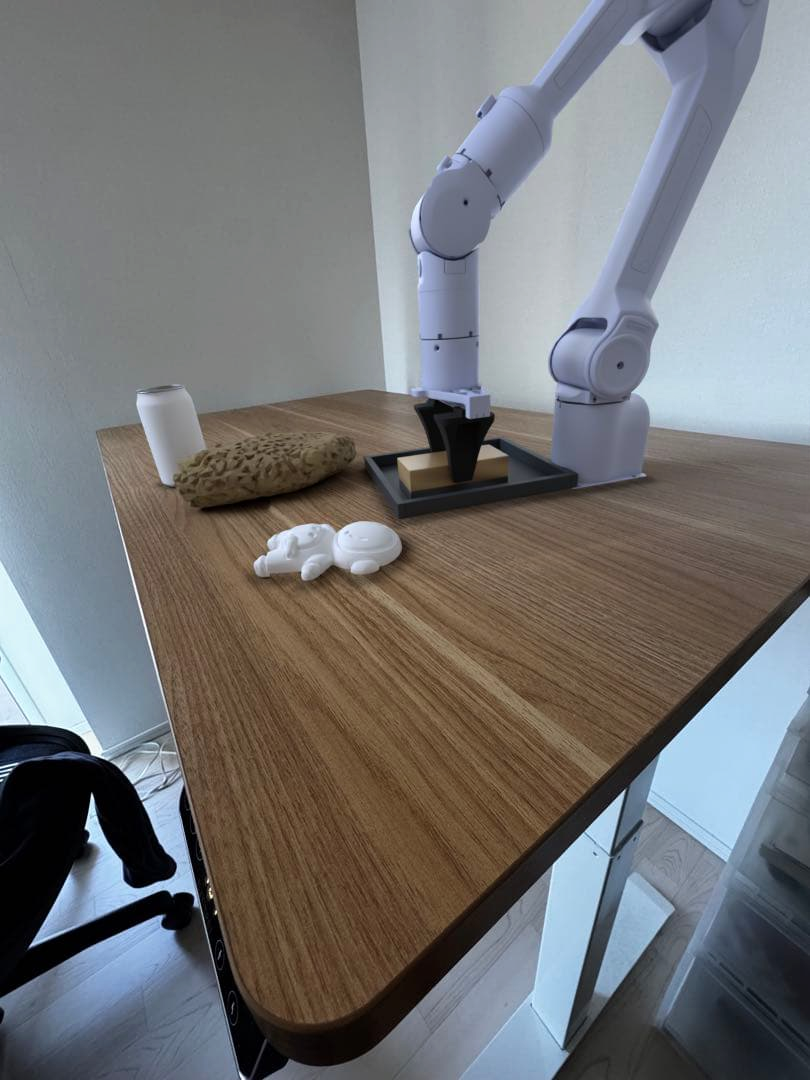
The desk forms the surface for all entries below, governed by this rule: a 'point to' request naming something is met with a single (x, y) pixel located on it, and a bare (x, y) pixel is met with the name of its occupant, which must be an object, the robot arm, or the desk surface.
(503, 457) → the eraser
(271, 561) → the astronaut figurine
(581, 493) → the desk surface
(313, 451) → the sponge
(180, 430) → the can
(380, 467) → the tray
